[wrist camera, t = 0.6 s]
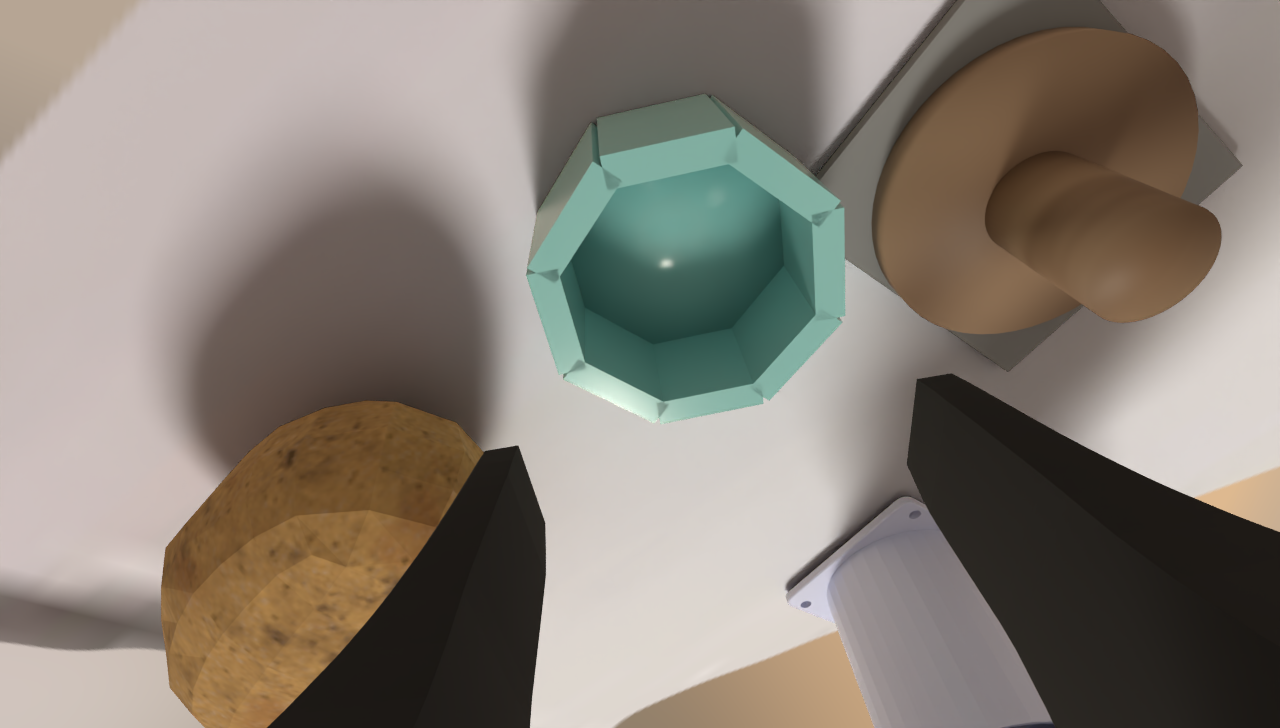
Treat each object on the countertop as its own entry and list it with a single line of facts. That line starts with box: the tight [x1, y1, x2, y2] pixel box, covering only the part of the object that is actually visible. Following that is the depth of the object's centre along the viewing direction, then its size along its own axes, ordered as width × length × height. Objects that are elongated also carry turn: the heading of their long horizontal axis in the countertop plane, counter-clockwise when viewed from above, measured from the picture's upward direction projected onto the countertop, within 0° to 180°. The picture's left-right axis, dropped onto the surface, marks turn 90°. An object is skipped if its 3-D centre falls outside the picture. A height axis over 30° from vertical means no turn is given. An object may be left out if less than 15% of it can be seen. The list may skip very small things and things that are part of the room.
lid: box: [871, 27, 1221, 334], centre depth 17 cm, size 9×9×6 cm
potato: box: [161, 400, 484, 728], centre depth 21 cm, size 10×14×8 cm
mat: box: [815, 0, 1243, 372], centre depth 19 cm, size 11×9×1 cm
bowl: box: [526, 94, 845, 424], centre depth 18 cm, size 8×8×4 cm
